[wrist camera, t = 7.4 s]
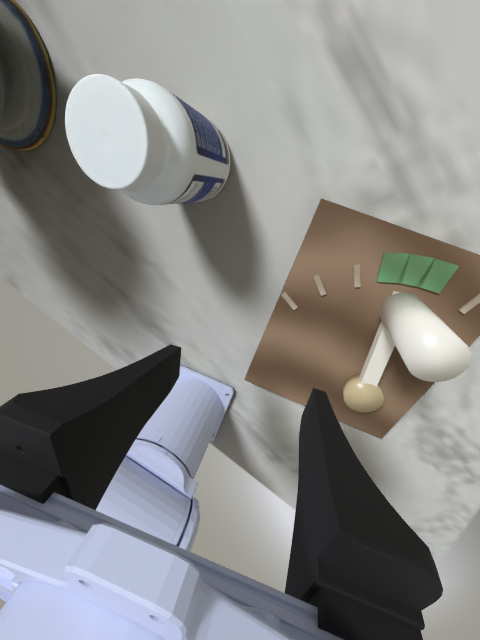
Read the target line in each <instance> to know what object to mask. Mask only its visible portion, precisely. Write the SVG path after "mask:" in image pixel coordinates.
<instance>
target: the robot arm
mask: <svg viewBox="0 0 480 640" xmlns="http://www.w3.org/2000/svg"><path fill="white" fill-rule="evenodd" d="M180 358H181V347H177V346H174V345H169V346H167V347H165V348H163V349H161V350H159V351H157V352H155V353H153V354H151V355H149V356H147V357H145V358H143V359H141V360H139V361H137V362H135V363H133V364H130V365H128V366H126V367H124V368H121V369H119V370H116V371H114V372H111V373H108V374H106V375H103V376H100V377H97V378H94V379H90V380H87V381H83V382H80V383H76V384H72V385H68V386H63V387H58V388H53V389H48V390H42V391H35V392H29V393H22V394H18V395H17V396H15V397H14V398H12V399H11V400H9V401H8V402H6V403H5V404H3V405H2V406H0V599H2V600H4V601H5V602H6V604H5V605H4V606H3V608H2V609H1V610H0V640H423V639H422V634H421V630H423V629H424V627H425V625H424V620H423V616H422V612H421V610H423V609H425V608H426V607H428V606H429V605H431V604H433V603H434V602H436V601H437V600H438V599H439V598H440V597H441V596H442V592H443V588H442V584H441V581H440V578H439V575H438V571H437V568H436V565H435V562H434V560H433V557H432V555H431V552H430V550H429V547H428V546H427V545H426V544H425V543H424V542H423V541H422V540H421V539H420V538H419V537H418V535H417V534H416V533H415V532H414V531H413V530H412V529H411V528H410V527H409V526H408V524H407V523H406V522H405V521H404V520H403V519H402V518H401V516H400V515H399V514H398V513H397V512H396V510H395V509H394V508H393V507H392V506H391V504H390V503H389V502H388V501H387V499H386V498H385V497H384V496H383V494H382V493H381V492H380V490H379V489H378V488H377V486H376V485H375V483H374V482H373V481H372V479H371V478H370V477H369V475H368V474H367V472H366V471H365V469H364V468H363V466H362V465H361V463H360V461H359V460H358V458H357V456H356V455H355V453H354V451H353V450H352V448H351V446H350V444H349V442H348V440H347V439H346V437H345V435H344V433H343V431H342V429H341V426H340V424H339V422H338V420H337V418H336V416H335V413H334V411H333V408H332V406H331V404H330V401H329V398H328V396H327V393H326V392H325V391H322V390H318V389H315V388H313V390H312V392H311V395H310V397H309V399H308V402H307V404H306V407H305V409H304V412H303V414H302V418H301V425H300V433H299V481H298V495H297V504H296V513H295V522H294V530H293V538H292V546H291V553H290V560H289V568H288V574H287V581H286V588H285V593H283V592H281V591H278V590H276V589H274V588H272V587H269V586H267V585H264V584H262V583H260V582H258V581H256V580H253V579H251V578H249V577H246V576H244V575H242V574H240V573H237V572H235V571H233V570H230V569H228V568H226V567H224V566H221V565H219V564H217V563H214V562H212V561H210V560H208V559H205V558H203V557H201V556H198V555H196V554H194V553H191V552H190V551H191V548H192V546H193V543H194V540H195V537H196V534H197V530H198V526H199V520H200V513H199V502H198V500H197V499H195V498H194V497H193V494H194V492H195V490H196V487H197V485H198V484H197V482H195V481H194V480H193V479H194V477H195V474H196V472H197V469H198V467H199V465H200V462H201V460H202V458H203V455H204V453H205V451H206V448H207V446H208V444H209V442H213V441H214V439H215V437H216V434H217V432H218V430H219V427H220V425H221V422H222V420H223V417H224V415H225V413H226V410H227V408H228V405H229V403H230V400H231V398H232V396H233V393H234V389H233V388H232V387H230V386H227V385H225V384H223V383H220V382H218V381H216V380H214V379H211V378H209V377H207V376H204V375H202V374H200V373H197V372H195V371H193V370H191V369H188V368H186V367H184V366H181V365H180ZM227 394H229V395H227ZM420 629H421V630H420Z"/></svg>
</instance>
